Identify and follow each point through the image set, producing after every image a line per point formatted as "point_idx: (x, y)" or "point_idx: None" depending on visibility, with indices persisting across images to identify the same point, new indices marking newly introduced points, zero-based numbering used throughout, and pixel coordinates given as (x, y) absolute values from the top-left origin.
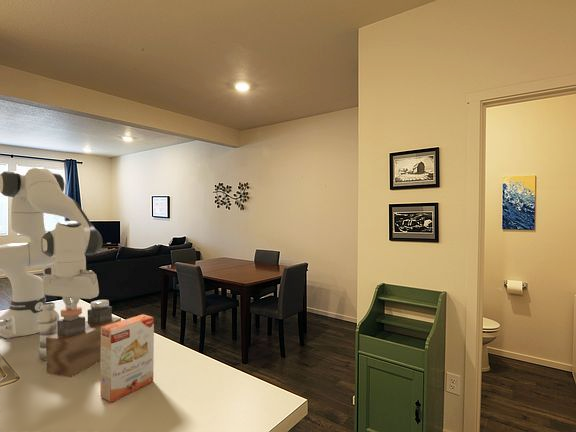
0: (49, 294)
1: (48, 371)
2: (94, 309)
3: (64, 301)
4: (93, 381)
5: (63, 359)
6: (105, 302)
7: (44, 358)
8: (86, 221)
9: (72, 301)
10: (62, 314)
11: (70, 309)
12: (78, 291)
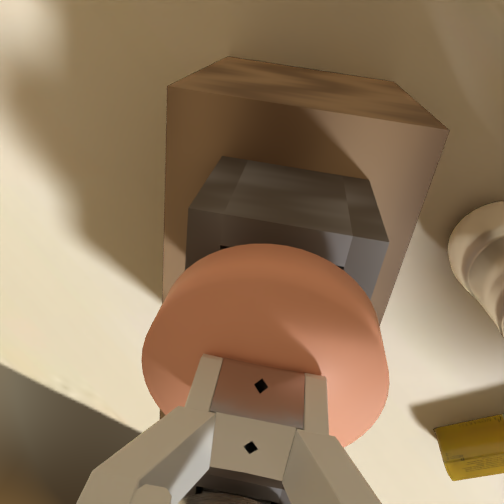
0: None
1: (382, 81)
2: (258, 499)
3: (349, 489)
4: (82, 32)
5: (265, 75)
6: None
7: (499, 201)
8: None
9: (149, 463)
10: (300, 267)
11: (240, 363)
12: None
